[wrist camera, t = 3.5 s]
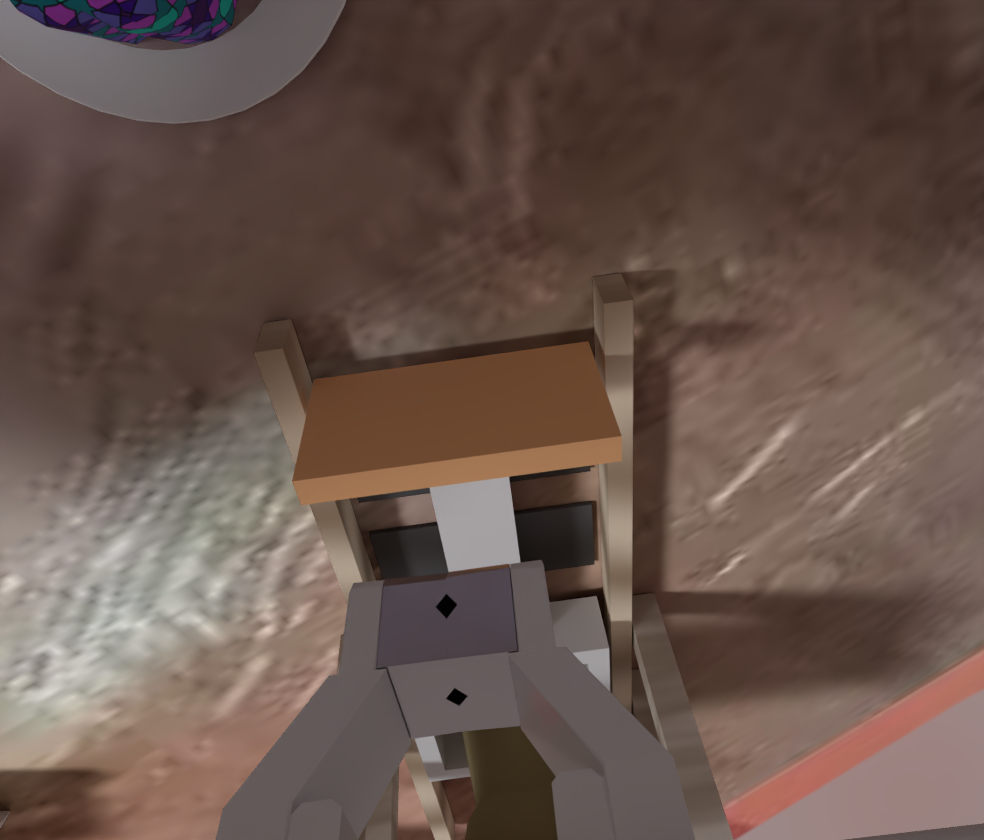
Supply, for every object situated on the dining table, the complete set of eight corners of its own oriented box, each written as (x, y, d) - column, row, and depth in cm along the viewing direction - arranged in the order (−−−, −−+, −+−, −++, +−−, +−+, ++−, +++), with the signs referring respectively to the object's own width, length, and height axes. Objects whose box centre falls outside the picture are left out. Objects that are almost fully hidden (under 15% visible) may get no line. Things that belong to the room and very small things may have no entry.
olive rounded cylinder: (550, 614, 37) (590, 844, 28) (568, 679, 41) (608, 901, 32) (436, 637, 38) (440, 871, 29) (464, 700, 41) (475, 924, 32)
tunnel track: (219, 329, 26) (55, 700, 14) (665, 266, 26) (863, 590, 14) (417, 827, 50) (416, 1113, 39) (647, 797, 50) (714, 1074, 38)
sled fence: (315, 371, 27) (292, 481, 22) (585, 334, 26) (621, 436, 22) (429, 729, 42) (430, 840, 37) (601, 706, 42) (624, 814, 37)
